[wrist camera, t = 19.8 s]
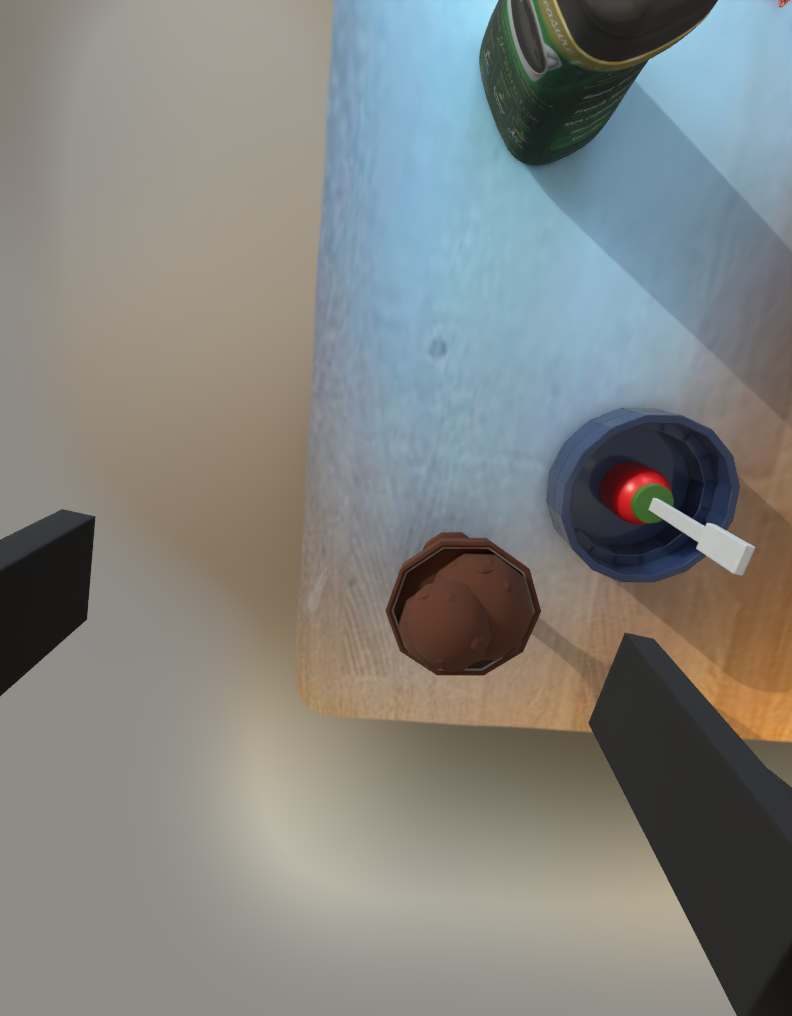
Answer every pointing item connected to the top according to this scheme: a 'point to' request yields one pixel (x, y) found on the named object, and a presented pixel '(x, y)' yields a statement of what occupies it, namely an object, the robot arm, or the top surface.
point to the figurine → (782, 2)
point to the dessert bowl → (663, 447)
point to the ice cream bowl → (462, 606)
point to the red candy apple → (668, 513)
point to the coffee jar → (571, 65)
